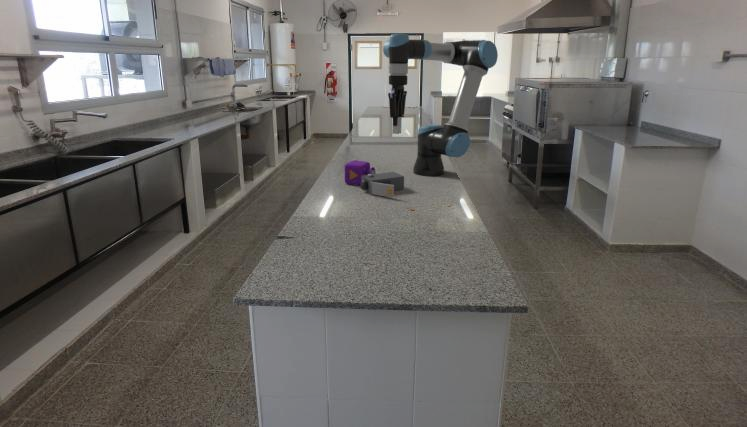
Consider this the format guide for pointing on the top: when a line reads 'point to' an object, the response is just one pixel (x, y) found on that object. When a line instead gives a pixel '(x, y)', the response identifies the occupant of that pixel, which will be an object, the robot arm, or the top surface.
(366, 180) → the box
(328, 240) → the top surface
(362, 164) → the toy camera
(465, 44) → the robot arm
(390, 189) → the side door
